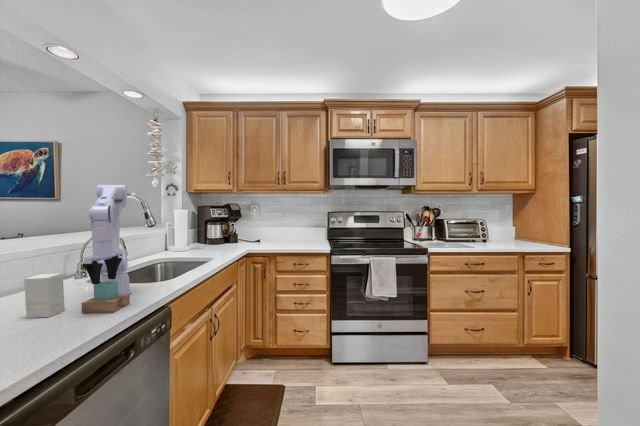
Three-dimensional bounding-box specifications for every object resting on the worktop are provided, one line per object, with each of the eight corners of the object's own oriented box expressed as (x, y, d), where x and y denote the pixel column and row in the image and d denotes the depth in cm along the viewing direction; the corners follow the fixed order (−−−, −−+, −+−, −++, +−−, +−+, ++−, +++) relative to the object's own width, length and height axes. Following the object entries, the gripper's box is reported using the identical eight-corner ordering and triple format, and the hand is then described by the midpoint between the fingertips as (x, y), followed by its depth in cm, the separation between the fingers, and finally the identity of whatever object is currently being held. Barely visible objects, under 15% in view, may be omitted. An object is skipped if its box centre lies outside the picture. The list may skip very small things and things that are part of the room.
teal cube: (105, 295, 120) (104, 281, 120) (118, 296, 120) (117, 281, 120) (94, 300, 116) (93, 285, 115) (108, 300, 115) (107, 285, 115)
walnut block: (101, 306, 123) (100, 294, 122) (129, 305, 123) (129, 294, 122) (82, 315, 113) (81, 302, 112) (113, 314, 113) (112, 302, 112)
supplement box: (65, 310, 117) (63, 272, 116) (49, 317, 109) (47, 277, 109) (43, 311, 117) (41, 273, 116) (25, 318, 109) (23, 278, 109)
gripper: (97, 243, 109) (99, 286, 110) (127, 238, 124) (129, 276, 124) (77, 244, 110) (78, 286, 110) (109, 239, 124) (110, 276, 125)
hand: (104, 281), depth 117 cm, fingers open, 7 cm apart
